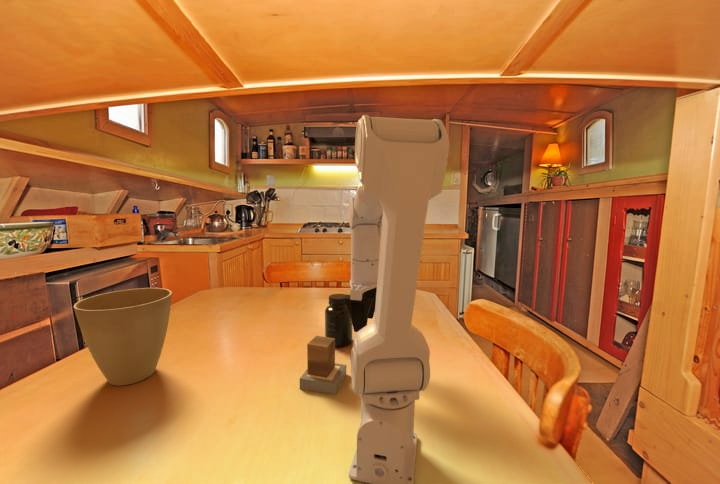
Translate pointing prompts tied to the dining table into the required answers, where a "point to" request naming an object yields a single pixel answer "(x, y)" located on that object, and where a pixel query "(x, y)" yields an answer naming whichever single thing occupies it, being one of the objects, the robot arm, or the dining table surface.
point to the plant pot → (125, 331)
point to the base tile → (324, 380)
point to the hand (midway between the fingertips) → (364, 324)
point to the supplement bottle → (338, 321)
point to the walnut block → (321, 356)
